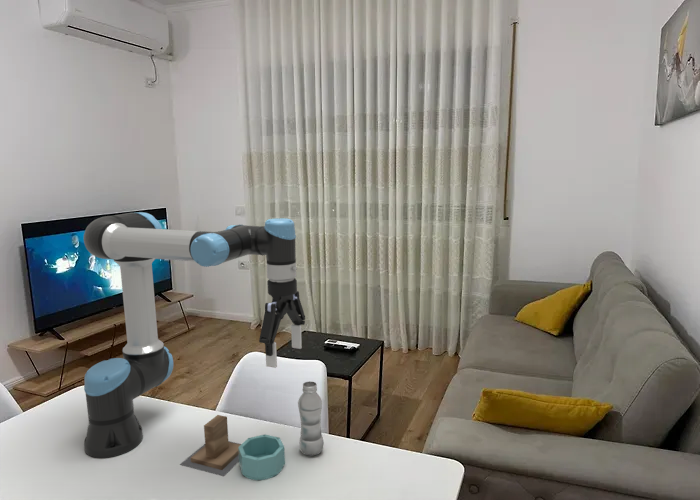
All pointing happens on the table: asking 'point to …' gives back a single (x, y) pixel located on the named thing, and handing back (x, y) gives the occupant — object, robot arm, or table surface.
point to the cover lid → (216, 445)
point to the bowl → (261, 457)
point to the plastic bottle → (310, 420)
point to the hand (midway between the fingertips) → (284, 356)
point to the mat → (210, 469)
